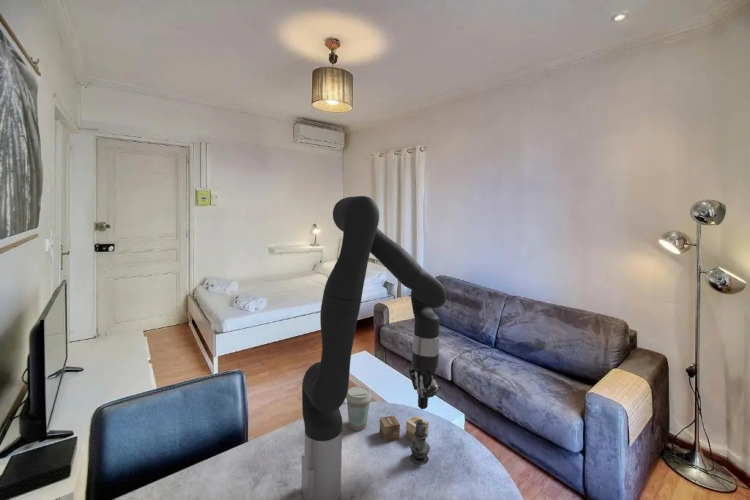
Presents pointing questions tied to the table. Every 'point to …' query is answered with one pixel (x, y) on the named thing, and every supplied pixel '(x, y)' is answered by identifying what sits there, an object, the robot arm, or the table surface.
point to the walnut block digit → (389, 428)
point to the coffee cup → (358, 407)
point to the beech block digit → (414, 426)
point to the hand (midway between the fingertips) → (422, 407)
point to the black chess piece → (420, 445)
